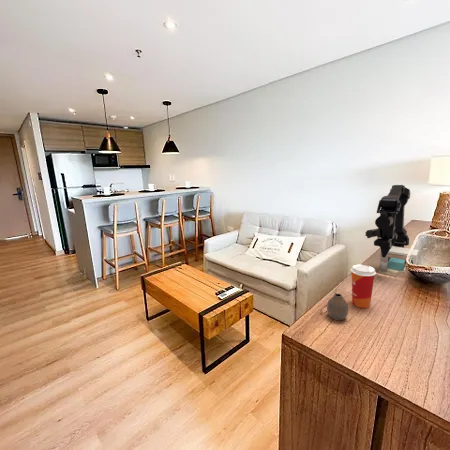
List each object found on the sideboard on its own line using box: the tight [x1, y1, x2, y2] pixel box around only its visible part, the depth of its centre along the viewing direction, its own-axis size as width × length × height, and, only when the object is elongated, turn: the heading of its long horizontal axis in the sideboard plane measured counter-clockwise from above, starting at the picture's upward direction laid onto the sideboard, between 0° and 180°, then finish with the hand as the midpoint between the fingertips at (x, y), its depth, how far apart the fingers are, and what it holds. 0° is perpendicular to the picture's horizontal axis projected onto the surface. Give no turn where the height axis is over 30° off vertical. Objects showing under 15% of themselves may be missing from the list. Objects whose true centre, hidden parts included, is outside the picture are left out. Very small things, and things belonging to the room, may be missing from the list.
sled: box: [378, 251, 408, 278], centre depth 118 cm, size 14×10×12 cm
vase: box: [326, 292, 349, 321], centre depth 86 cm, size 7×7×9 cm
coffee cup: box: [350, 263, 377, 309], centre depth 92 cm, size 8×8×15 cm
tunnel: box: [389, 246, 420, 265], centre depth 127 cm, size 10×14×8 cm
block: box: [388, 257, 406, 272], centre depth 120 cm, size 6×6×4 cm
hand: (384, 256), depth 117 cm, fingers closed on sled, 3 cm apart
